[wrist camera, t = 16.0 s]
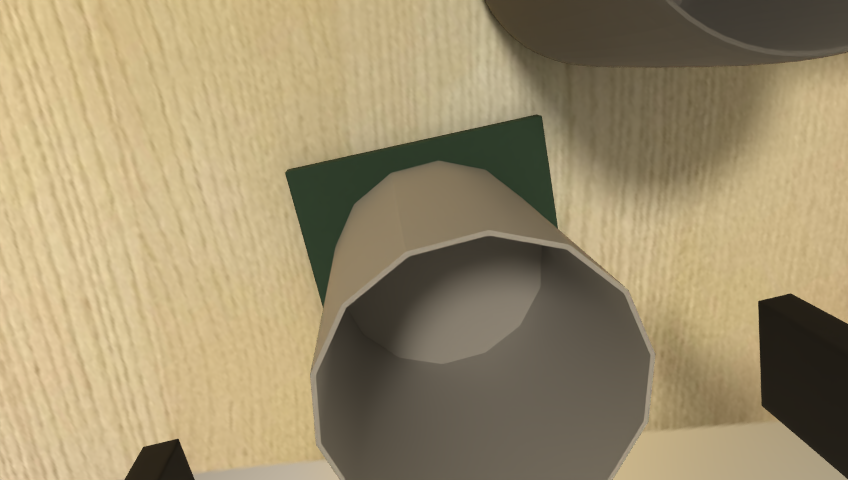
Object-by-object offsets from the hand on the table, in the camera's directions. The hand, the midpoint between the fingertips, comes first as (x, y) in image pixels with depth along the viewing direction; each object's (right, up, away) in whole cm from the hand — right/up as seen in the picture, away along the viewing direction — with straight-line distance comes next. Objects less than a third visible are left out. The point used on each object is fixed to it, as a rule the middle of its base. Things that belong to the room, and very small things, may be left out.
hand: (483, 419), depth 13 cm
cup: (-1, +3, +11) cm, 11 cm away
